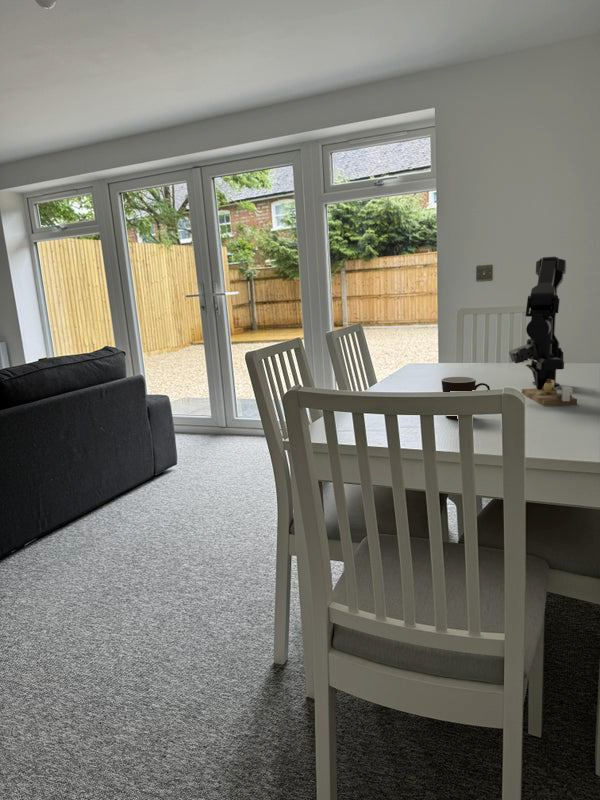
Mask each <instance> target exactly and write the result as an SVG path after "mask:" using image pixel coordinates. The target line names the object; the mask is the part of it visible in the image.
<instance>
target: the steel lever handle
mask: <svg viewBox="0 0 600 800" xmlns="http://www.w3.org/2000/svg"><path fill="white" fill-rule="evenodd" d="M556 397H559V398H561V399H562V401H570V398H571V397H573V387H572V386H565V385H564V386H561V385H560V386H556Z"/></svg>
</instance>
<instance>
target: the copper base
mask: <svg viewBox="0 0 600 800" xmlns="http://www.w3.org/2000/svg"><path fill="white" fill-rule="evenodd" d="M556 390H557V388H554V389H553V390H552V393H546V392H544V390H543V389H541V390H537V388H536V387H535V388H521V394H522V393H523V394H524V395H523V394H522V395H523V396H525V397H526V398H528V397H529V398H528V399H530V398H531V399H530V400H532V401H534V402H536V403H538V404H540V405H541V406H543V407H546V406H547V407H548V406H549V407H550V406H551V407H553V406H571V405H572V406H574V405H578V399H577V398H575V397H573V396H572V397H571V398H570V401H562V399H561V398H559V397H556Z"/></svg>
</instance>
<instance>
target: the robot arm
mask: <svg viewBox="0 0 600 800" xmlns="http://www.w3.org/2000/svg"><path fill="white" fill-rule="evenodd" d="M566 272H567V261H566V259H562V258H559V257H557V256H544V257H542V258H540V259H539V260H537V261H536V262H535V275H536V276H537V279H538V280H537V283H536V285H535V286H534V287H532V288H531V290H530V295H527V301H526V307H525V308H526V309H525V317H528V318H530V317H531V319H530V321H529V322H528V324H527V325H526V329H525V331H526V334H527V336H528V337H529V338H527V340H526V344H524V345H521V346H518V347H516V348H513V349H511V350H509V351H508V355H509V356H510V359H511V362H512V363H515V364H520V363H524V362H525V361H526V362H527V361H528V362H527V364H525V367H526V368H528V370H531V373H532V375H533V380H534V381H532V384H533V385H535V388H537V390H541V389H542V388H543V386H544V384H545V382H546V380H547V379H552V380H555V381H554V387H561V384H560V383H559V382H557V381H556V380H557V370H564V368H565V361H564V352H563V349H562V347H560V342H559V340H558V338H557V336H556V318H557V314H559V310H560V297H559V295H558V288H559V286H560V285H561V284H562V282H563V281H564V275H566Z"/></svg>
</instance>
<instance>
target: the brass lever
mask: <svg viewBox="0 0 600 800" xmlns="http://www.w3.org/2000/svg"><path fill="white" fill-rule="evenodd" d="M554 381H555V380H552V379H547V380H546V382H545V384H544V386H543V388H542V389H543V390H544V392H546V393H552V390H553V389H555V386H554Z"/></svg>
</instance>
